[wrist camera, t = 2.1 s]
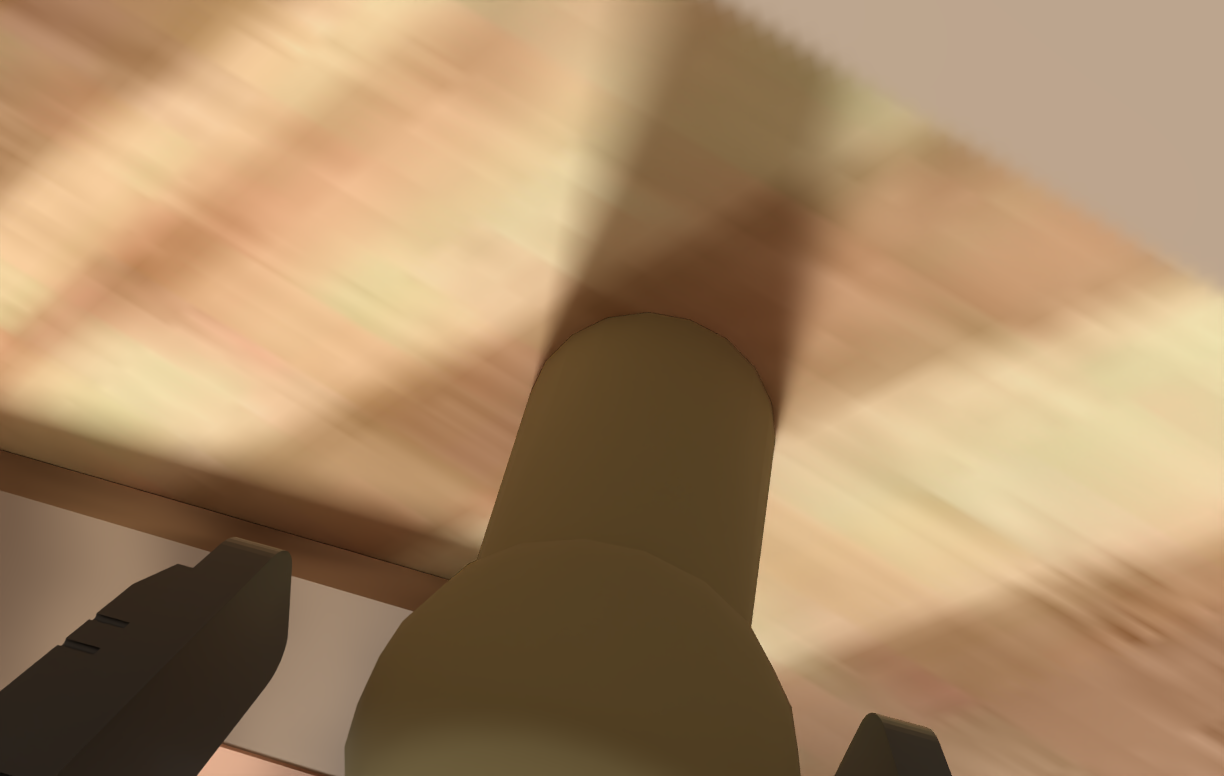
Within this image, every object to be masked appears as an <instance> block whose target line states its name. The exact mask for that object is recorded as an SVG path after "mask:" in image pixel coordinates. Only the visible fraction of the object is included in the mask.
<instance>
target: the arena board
mask: <svg viewBox="0 0 1224 776" xmlns="http://www.w3.org/2000/svg"><path fill="white" fill-rule="evenodd" d="M231 537H238V538H242V539H245V540H249V541H253V542H256V543H260V544H264V545H267V546H271V547H275V548H278V549H282V550H286V551H288V552H289V553H290V555H291V557H292V576H291V593H290V610H289V627H288V639H287V644H286V648H285V651H284V654H283V657H282V659H281V662H280V664H279V666H278V668H277V670H276V672H275V674H274V676H273V677H272V679H271V680H270V682H269V683H268V685H267V686H266V687H265V689H264V690H263V691H262V693H261V694H260V695H259V696H258V698H257V699H256V700H255V702H254V703H253V704H252V705H251V707H250V708H249V709H248V711H247V712H246V713H245V714H244V716H243V717H242V718H241V720H240V721H239V722H238V723H237V725H236V726H235V727H234V729H233V730H232V731H231V733H230V734H229V735H228V736H227V738H226V739H225V740H224V742H223V743H222V744H221V745H220V747H219V748H218V749H217V751H216V752H215V753H214V754H213V756H212V757H211V758H210V760H209V761H208V762H207V763H206V765H205V766H204V767H203V769H202V770H201V771H200V772H199V774H198V775H197V776H345V755H344V747H345V743H346V740H347V737H348V733H349V730H350V727H351V723H352V720H353V717H354V713H355V710H356V707H357V703H358V701H359V699H360V697H361V695H362V692H363V690H364V688H365V686H366V684H367V682H368V680H369V677H370V675H371V673H372V671H373V669H374V667H375V664H376V662H377V660H378V658H379V656H380V654H381V653H382V651H383V650H384V648H385V647H386V645H387V644H388V642H389V641H390V639H391V638H392V636H393V635H394V633H395V632H396V630H397V629H398V627H399V626H400V624H401V623H402V621H403V620H404V619H406V618H407V617H408V616H409V615H410V614H411V613H412V612H413V611H415V610H416V609H417V608H418V607H419V606H420V605H421V604H423V603H424V602H425V601H426V600H427V599H428V598H429V597H431V596H432V595H433V594H434V593H435V592H436V591H437V590H438V589H440V588H441V587H442V586H443V585H444V584H445V583H447V582H448V581H449V580H447V579H444V578H440V577H437V576H433V575H430V574H426V573H423V572H420V571H416V570H413V569H409V568H406V567H402V566H399V565H395V564H392V563H389V562H385V561H382V560H378V559H375V558H371V557H368V556H364V555H361V554H357V553H354V552H351V551H347V550H344V549H340V548H337V547H333V546H330V545H326V544H323V543H320V542H316V541H313V540H309V539H306V538H302V537H299V536H295V535H292V534H289V533H285V532H282V531H278V530H275V529H271V528H268V527H264V526H261V525H258V524H254V523H251V522H247V521H244V520H240V519H237V518H233V517H230V516H226V515H223V514H220V513H216V512H213V511H209V510H206V509H202V508H199V507H195V506H192V505H189V504H185V503H182V502H178V501H175V500H171V499H168V498H164V497H161V496H158V495H154V494H151V493H147V492H144V491H140V490H137V489H133V488H130V487H127V486H123V485H120V484H116V483H113V482H109V481H106V480H102V479H99V478H95V477H92V476H89V475H85V474H82V473H78V472H75V471H71V470H68V469H64V468H61V467H58V466H54V465H51V464H47V463H44V462H40V461H37V460H33V459H30V458H27V457H23V456H20V455H16V454H13V453H9V452H6V451H2V450H0V691H1V690H2V689H3V688H5V687H6V686H7V685H8V684H10V683H11V682H12V681H13V680H14V679H16V678H17V677H18V676H19V675H21V674H22V673H23V672H24V671H26V670H27V669H28V668H29V667H31V666H32V665H33V664H34V663H35V662H37V661H38V660H39V659H40V658H42V657H43V656H44V655H45V654H47V653H48V652H49V651H50V650H52V649H53V648H54V647H55V646H57V645H60V646H61V645H62V644H63V643H64V642H65V639H66V637H68V636H69V635H70V634H71V633H73V632H74V631H75V630H76V629H78V628H79V627H80V626H81V625H83V624H84V623H85V622H86V621H87V620H89V619H90V620H93V619H94V618H95V617H96V613H97V612H99V611H100V610H101V609H102V608H104V607H105V606H106V605H107V604H108V603H110V602H111V601H112V600H113V599H115V598H116V597H117V596H118V595H120V594H121V593H122V592H123V591H125V590H126V589H127V588H128V587H130V586H131V585H132V584H134V583H136V582H138V581H140V580H143V579H145V578H147V577H149V576H151V575H154V574H156V573H158V572H160V571H163V570H165V569H167V568H169V567H171V566H174V565H176V564H181V565H185V566H188V567H192V568H193V567H194V566H196V565H197V564H198V563H199V562H200V561H201V560H202V559H204V558H205V557H206V556H207V555H208V554H209V553H211V552H212V551H213V550H214V549H215V548H216V547H217V546H219V545H220V544H221V543H222V542H223V541H225V540H227V539H228V538H231Z"/></svg>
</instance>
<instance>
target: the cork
mask: <svg viewBox="0 0 1224 776" xmlns="http://www.w3.org/2000/svg"><path fill="white" fill-rule="evenodd" d="M774 445H775V433H774V423H773V413H772V403H771V401H770V399H769V396H768V394H767V392H766V390H765V388H764V386H763V384H762V382H761V380H760V378H759V375H758V373H757V371H756V369H755V368H754V366H753V365H752V364H751V363H750V362H749V361H748V360H747V359H746V358H745V357H744V356H743V355H742V354H741V353H740V352H739V351H738V350H737V349H736V348H735V347H734V346H733V345H732V344H731V343H730V342H729V341H728V340H727V339H726V338H724V337H722V336H720V335H718V334H716V333H714V332H712V331H710V330H708V329H707V328H705V327H703V326H701V325H699V324H697V323H695V322H693V321H691V320H688V319H683V318H677V317H672V316H666V315H660V314H655V313H649V312H648V313H640V314H633V315H625V316H617V317H610V318H606V319H604V320H602V321H600V322H598V323H596V324H594V325H592V326H590V327H588V328H585V329H583V330H581V331H579V332H577V333H575V334H573V335H572V336H571V337H570V338H569V339H568V340H567V341H566V342H565V343H564V344H563V345H562V346H561V347H560V348H559V349H558V350H557V351H556V352H554V353H553V354H552V355H551V356H550V357H549V358H548V359H547V360H546V362H545V364H544V366H543V368H542V370H541V372H540V374H539V376H538V378H537V380H536V383H535V385H534V387H533V389H532V391H531V393H530V396H529V399H528V402H527V405H526V408H525V412H524V415H523V418H522V421H521V424H520V427H519V430H518V433H517V436H516V440H515V443H514V446H513V449H512V452H511V455H510V458H509V461H508V464H507V468H506V471H505V474H504V477H503V480H502V483H501V486H500V489H499V492H498V496H497V499H496V502H495V505H494V508H493V511H492V514H491V517H490V520H489V524H488V527H487V530H486V533H485V536H484V539H483V542H482V545H481V548H480V552H479V555H478V558H477V561H474V562H472V563H469V564H468V565H467V566H466V567H465V568H463V569H462V570H461V571H460V572H459V573H457V574H456V575H455V576H454V577H453V578H451V579H450V580H449V581H448V582H447V583H445V584H444V585H443V586H442V587H441V588H440V589H438V590H437V591H436V592H435V593H434V594H433V595H432V596H431V597H429V598H428V599H427V600H426V601H425V602H424V603H423V604H421V605H420V606H419V607H418V608H417V609H416V610H415V611H413V612H412V613H411V614H410V615H409V616H408V617H407V618H406V619H404V620H403V621H402V623H401V624H400V626H399V627H398V629H397V630H396V632H395V633H394V635H393V636H392V638H391V639H390V641H389V642H388V644H387V645H386V647H385V648H384V650H383V651H382V653H381V654H380V656H379V658H378V660H377V662H376V664H375V667H374V669H373V671H372V673H371V675H370V677H369V680H368V682H367V684H366V686H365V688H364V690H363V692H362V695H361V697H360V699H359V701H358V703H357V707H356V710H355V713H354V717H353V720H352V723H351V727H350V730H349V733H348V737H347V740H346V743H345V747H344V755H345V776H801V775H800V766H799V756H798V748H797V741H796V734H795V727H794V721H793V714H792V707H791V705H790V703H789V701H788V699H787V696H786V694H785V692H784V690H783V688H782V686H781V684H780V681H779V679H778V677H777V675H776V673H775V671H774V669H773V667H772V665H771V663H770V661H769V660H768V658H767V656H766V654H765V652H764V650H763V648H762V647H761V645H760V643H759V641H758V639H757V637H756V635H755V634H754V632H753V630H752V628H751V624H752V616H753V608H754V600H755V592H756V585H757V577H758V569H759V561H760V554H761V546H762V538H763V530H764V522H765V515H766V507H767V499H768V491H769V484H770V476H771V468H772V460H773V453H774Z"/></svg>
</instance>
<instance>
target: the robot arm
mask: <svg viewBox="0 0 1224 776" xmlns="http://www.w3.org/2000/svg"><path fill="white" fill-rule="evenodd" d="M291 576H292V557H291V555H290V553H289V552H288V551H286V550H282V549H278V548H275V547H271V546H267V545H264V544H260V543H256V542H253V541H249V540H245V539H242V538H238V537H231V538H228V539H227V540H225V541H223V542H222V543H221V544H220V545H219V546H217V547H216V548H215V549H214V550H213V551H212V552H211V553H209V554H208V555H207V556H206V557H205V558H204V559H202V560H201V561H200V562H199V563H198V564H197V565H196V566H194V567H193V568H192V567H188V566H185V565H181V564H176V565H174V566H171V567H169V568H167V569H165V570H163V571H160V572H158V573H156V574H154V575H151V576H149V577H147V578H145V579H143V580H140V581H138V582H136V583H134V584H132V585H131V586H130V587H128V588H127V589H126V590H125V591H123V592H122V593H121V594H120V595H118V596H117V597H116V598H115V599H113V600H112V601H111V602H110V603H108V604H107V605H106V606H105V607H104V608H102V609H101V610H100V611H99V612H97V613H96V617H95V618H94V619H93V620H90V619H89V620H87V621H86V622H85V623H84V624H83V625H81V626H80V627H79V628H78V629H76V630H75V631H74V632H73V633H71V634H70V635H69V636H68V637H66V639H65V642H64V643H63V644H62V645H61V646H60V645H57V646H55V647H54V648H53V649H52V650H50V651H49V652H48V653H47V654H45V655H44V656H43V657H42V658H40V659H39V660H38V661H37V662H35V663H34V664H33V665H32V666H31V667H29V668H28V669H27V670H26V671H24V672H23V673H22V674H21V675H19V676H18V677H17V678H16V679H14V680H13V681H12V682H11V683H10V684H8V685H7V686H6V687H5V688H3V689H2V690H1V691H0V776H197V775H198V774H199V772H200V771H201V770H202V769H203V767H204V766H205V765H206V763H207V762H208V761H209V760H210V758H211V757H212V756H213V754H214V753H215V752H216V751H217V749H218V748H219V747H220V745H221V744H222V743H223V742H224V740H225V739H226V738H227V736H228V735H229V734H230V733H231V731H232V730H233V729H234V727H235V726H236V725H237V723H238V722H239V721H240V720H241V718H242V717H243V716H244V714H245V713H246V712H247V711H248V709H249V708H250V707H251V705H252V704H253V703H254V702H255V700H256V699H257V698H258V696H259V695H260V694H261V693H262V691H263V690H264V689H265V687H266V686H267V685H268V683H269V682H270V680H271V679H272V677H273V676H274V674H275V672H276V670H277V668H278V666H279V664H280V662H281V659H282V657H283V654H284V651H285V648H286V644H287V639H288V627H289V610H290V593H291ZM835 776H952V775H951V772H950V769H949V767H948V764H947V762H946V759H945V756H944V754H943V751H942V749H941V746H940V743H939V741H938V739H937V737H936V735H935V734H934V732H933V731H932V730H931V729H929V728H927V727H923V726H920V725H916V724H912V723H909V722H905V721H901V720H898V719H894V718H890V717H887V716H883V715H879V714H876V713H870V714H868V715H866V716H865V718H864V719H863V720H862V722H861V724H860V726H859V728H858V730H857V732H856V734H855V736H854V738H853V740H852V742H851V744H850V746H849V748H848V750H847V752H846V754H845V756H844V758H843V760H842V762H841V764H840V766H839V768H838V770H837V772H836V774H835Z"/></svg>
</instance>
